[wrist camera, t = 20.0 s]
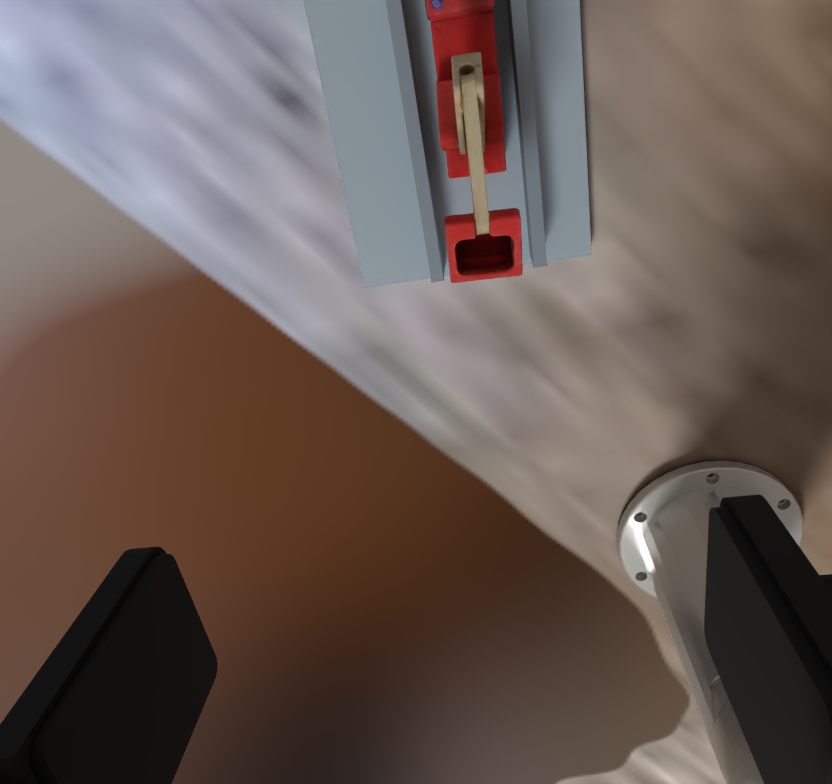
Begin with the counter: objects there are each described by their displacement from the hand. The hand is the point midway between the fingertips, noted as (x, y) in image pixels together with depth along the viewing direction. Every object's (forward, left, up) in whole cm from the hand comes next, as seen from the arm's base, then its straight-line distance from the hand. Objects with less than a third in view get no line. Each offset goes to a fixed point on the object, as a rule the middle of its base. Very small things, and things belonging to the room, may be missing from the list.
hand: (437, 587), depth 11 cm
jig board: (+9, -1, -30) cm, 31 cm away
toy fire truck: (+6, -2, -29) cm, 30 cm away
